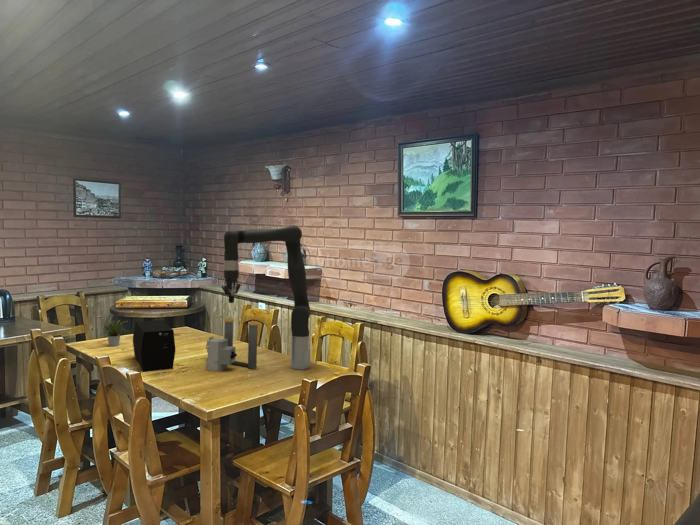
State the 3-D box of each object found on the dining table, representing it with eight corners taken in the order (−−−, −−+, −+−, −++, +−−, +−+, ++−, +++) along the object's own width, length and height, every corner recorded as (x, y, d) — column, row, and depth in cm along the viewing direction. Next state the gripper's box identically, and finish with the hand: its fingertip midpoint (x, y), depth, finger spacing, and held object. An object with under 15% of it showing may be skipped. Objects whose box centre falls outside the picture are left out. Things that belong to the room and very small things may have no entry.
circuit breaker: (231, 372, 250) (232, 342, 250) (205, 369, 253) (206, 340, 253) (238, 368, 258) (238, 339, 257) (212, 366, 261) (213, 337, 260)
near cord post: (259, 367, 261) (260, 322, 260) (253, 369, 257) (254, 323, 255) (251, 366, 264) (252, 321, 262) (245, 368, 259) (246, 322, 258)
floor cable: (249, 366, 262) (249, 362, 262) (247, 367, 260) (247, 363, 260) (232, 363, 267) (233, 360, 267) (230, 364, 265) (230, 360, 265)
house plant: (127, 342, 309) (127, 316, 308) (130, 346, 297) (130, 319, 296) (101, 344, 302) (102, 317, 301) (103, 348, 290) (104, 321, 289)
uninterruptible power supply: (163, 354, 281) (164, 319, 280) (175, 369, 252) (176, 330, 251) (132, 357, 273) (132, 321, 272) (141, 373, 244) (141, 332, 243)
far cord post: (235, 363, 268) (236, 318, 267) (228, 365, 264) (229, 320, 262) (227, 361, 271) (228, 317, 269) (221, 363, 266) (222, 319, 265)
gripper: (228, 270, 248) (228, 304, 249) (245, 268, 260) (245, 301, 261) (216, 269, 251) (217, 303, 252) (233, 268, 263) (233, 300, 264)
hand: (231, 302), depth 256 cm, fingers closed
